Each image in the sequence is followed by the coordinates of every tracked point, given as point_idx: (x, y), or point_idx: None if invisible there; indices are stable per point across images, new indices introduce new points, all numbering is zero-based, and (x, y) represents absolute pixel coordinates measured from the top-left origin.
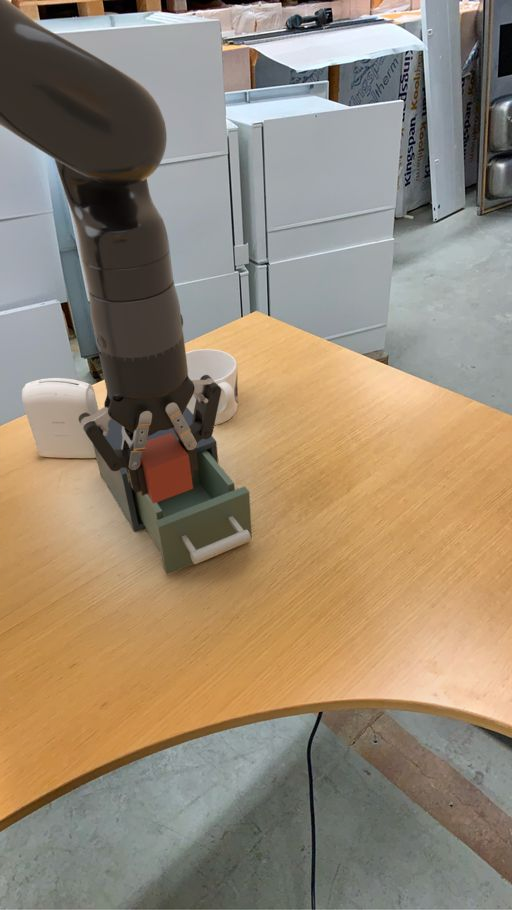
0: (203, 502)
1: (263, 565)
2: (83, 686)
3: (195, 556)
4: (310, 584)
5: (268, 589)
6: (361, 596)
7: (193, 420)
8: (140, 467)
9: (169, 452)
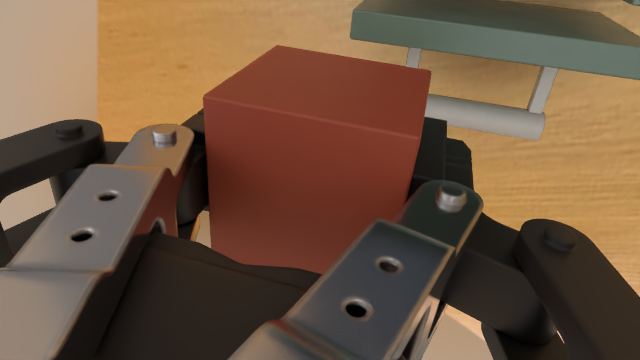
0: (505, 32)
1: (551, 96)
2: (187, 106)
3: None
4: (575, 184)
5: (509, 145)
6: (613, 251)
7: (529, 265)
8: (208, 206)
9: (327, 244)
